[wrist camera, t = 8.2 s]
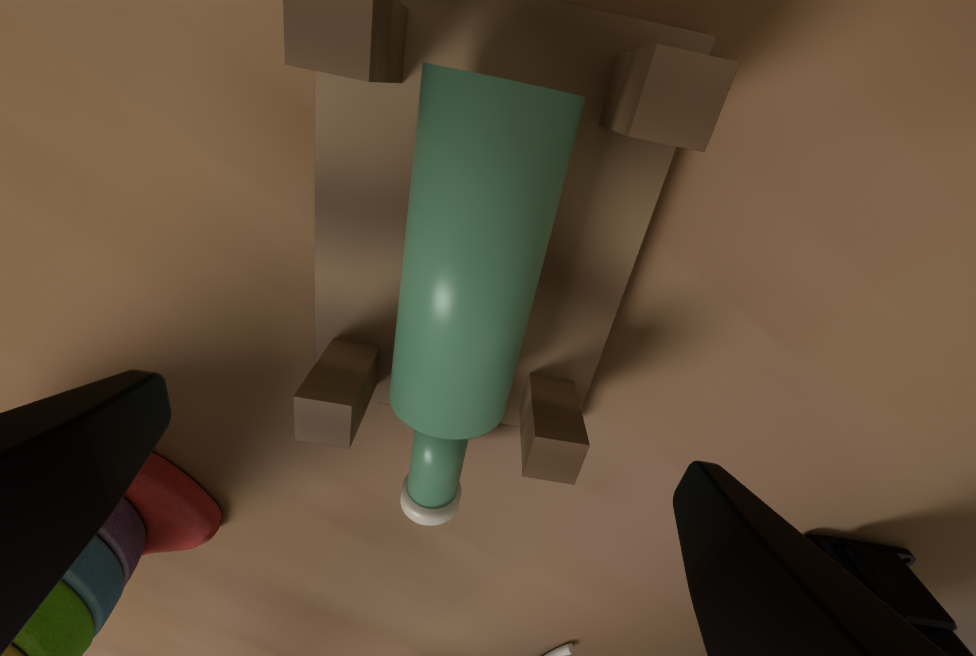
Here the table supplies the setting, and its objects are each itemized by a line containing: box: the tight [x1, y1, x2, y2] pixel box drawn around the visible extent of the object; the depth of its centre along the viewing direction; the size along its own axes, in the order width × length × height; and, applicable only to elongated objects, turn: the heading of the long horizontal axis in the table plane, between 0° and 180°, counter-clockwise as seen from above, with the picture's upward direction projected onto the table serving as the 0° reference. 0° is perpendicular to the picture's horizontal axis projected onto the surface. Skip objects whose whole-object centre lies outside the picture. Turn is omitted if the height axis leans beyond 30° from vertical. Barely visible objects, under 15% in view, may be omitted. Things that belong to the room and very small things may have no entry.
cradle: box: [283, 0, 740, 485], centre depth 16 cm, size 16×12×5 cm
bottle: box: [389, 63, 586, 526], centre depth 16 cm, size 17×4×4 cm, turn 169°
